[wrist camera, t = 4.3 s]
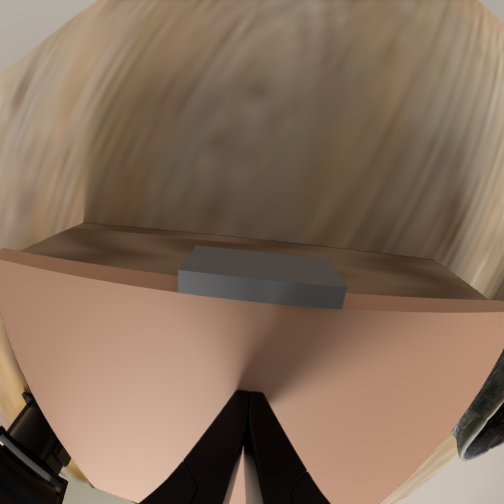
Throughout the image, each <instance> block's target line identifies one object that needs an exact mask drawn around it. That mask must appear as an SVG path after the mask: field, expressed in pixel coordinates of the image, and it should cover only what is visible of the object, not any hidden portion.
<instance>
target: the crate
mask: <svg viewBox="0 0 504 504" xmlns="http://www.w3.org/2000/svg"><path fill="white" fill-rule="evenodd" d="M196 245H199V246H209V247H218V248H228V249H237V250H247V251H256V252H266V253H275V254H285V255H295V256H304V257H313V258H323V259H330V260H331V262H332V264H333V265H334V267H335V268H336V270H337V271H338V273H339V275H340V276H341V278H342V279H343V281H344V283H345V284H346V286H347V291H346V293H353V294H367V295H383V296H399V297H417V298H438V299H464V300H489V299H487V298H486V297H485V296H483V295H482V294H481V293H479V292H478V291H477V290H475V289H474V288H473V287H471V286H470V285H469V284H467V283H466V282H465V281H463V280H462V279H461V278H459V277H458V276H456V275H455V274H454V273H452V272H451V271H449V270H448V269H447V268H445V267H444V266H442V265H441V264H439V263H438V262H436V261H435V260H429V259H421V258H414V257H405V256H397V255H389V254H381V253H373V252H364V251H356V250H347V249H339V248H330V247H321V246H312V245H303V244H294V243H285V242H276V241H266V240H257V239H247V238H237V237H228V236H218V235H208V234H198V233H187V232H177V231H166V230H156V229H145V228H134V227H122V226H111V225H99V224H87V223H82V224H79V225H77V226H75V227H72V228H70V229H68V230H65V231H63V232H61V233H59V234H56V235H54V236H52V237H50V238H48V239H45V240H43V241H41V242H39V243H37V244H35V245H33V246H31V247H29V248H26V249H24V250H22V251H20V252H25V253H31V254H36V255H42V256H48V257H54V258H60V259H66V260H72V261H78V262H84V263H90V264H97V265H103V266H110V267H117V268H124V269H131V270H138V271H145V272H152V273H160V274H167V275H175V276H178V269H179V268H180V266H181V265H182V264H183V262H184V261H185V260H186V258H187V257H188V256H189V254H190V253H191V252H192V250H193V249H194V248H195V246H196Z"/></svg>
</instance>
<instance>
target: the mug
mask: <svg viewBox="0 0 504 504" xmlns="http://www.w3.org/2000/svg"><path fill="white" fill-rule="evenodd" d="M450 433H452V435H454V436H455V438H456V440H457V449H458V453H459V458H460V459H461V460H463V461H468V460H472V459H475V458H477V457H479V456H481V455H483V454H484V453H486V452H487V451H488V450H489V449H493V448H495V447H498V446H500V445H502V444H504V349H503V351H502V353H501V355H500V357H499V358H498V360H497V362H496V364H495V366H494V368H493V369H492V371H491V373H490V375H489V376H488V378H487V380H486V381H485V383H484V385H483V386H482V388H481V389H480V391H479V392H478V394H477V396H476V397H475V399H474V400H473V402H472V403H471V404H470V406H469V407H468V409H467V410H466V412H465V413H464V414H463V416H462V417H461V419H460V420H459V421H458V423H457V424H456V425H455V426H454V428H453V429H452V430H451V432H450Z"/></svg>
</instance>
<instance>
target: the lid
mask: <svg viewBox="0 0 504 504" xmlns="http://www.w3.org/2000/svg"><path fill="white" fill-rule="evenodd" d="M346 291H347V286H346V284H345V283H344V281H343V279H342V278H341V276H340V275H339V273H338V271H337V270H336V268H335V267H334V265H333V264H332V262H331V260H330V259H323V258H313V257H304V256H295V255H285V254H275V253H266V252H256V251H247V250H237V249H228V248H218V247H209V246H199V245H196V246H195V248H194V249H193V250H192V252H191V253H190V254H189V256H188V257H187V258H186V260H185V261H184V262H183V264H182V265H181V266H180V268H179V269H178V276H175V275H167V274H160V273H152V272H145V271H138V270H131V269H124V268H117V267H110V266H103V265H97V264H90V263H84V262H78V261H72V260H66V259H60V258H54V257H48V256H42V255H36V254H31V253H25V252H20V251H15V250H9V249H4V248H2V249H0V314H1V317H2V321H3V324H4V327H5V330H6V333H7V335H8V338H9V341H10V344H11V346H12V349H13V351H14V354H15V356H16V359H17V361H18V364H19V366H20V368H21V371H22V373H23V375H24V377H25V379H26V381H27V384H28V386H29V388H30V390H31V392H32V394H33V396H34V398H35V400H36V401H37V403H38V405H39V407H40V409H41V411H42V412H43V414H44V416H45V418H46V419H47V421H48V423H49V424H50V426H51V428H52V429H53V431H54V433H55V434H56V436H57V437H58V439H59V440H60V442H61V443H62V445H63V446H64V448H65V449H66V451H67V452H68V454H69V455H70V456H71V458H72V459H73V460H74V462H75V463H76V465H77V466H78V467H79V468H80V470H81V471H82V472H83V474H84V475H85V476H86V477H87V479H88V480H89V481H90V482H91V483H92V485H93V486H94V487H95V488H98V489H100V490H103V491H105V492H108V493H111V494H113V495H116V496H119V497H122V498H125V499H128V500H131V501H134V502H137V503H140V502H141V501H142V500H143V499H144V498H146V497H147V496H148V495H149V494H151V493H152V492H153V491H154V490H155V489H156V488H157V487H158V486H160V485H161V484H162V483H163V482H164V481H165V480H166V479H167V478H168V477H169V476H170V474H171V473H172V472H173V471H174V470H175V469H176V468H177V466H178V465H179V464H180V463H181V462H182V461H183V459H184V458H185V457H186V455H187V454H188V453H189V452H190V450H191V449H192V448H193V447H194V445H195V444H196V443H197V442H198V440H199V439H200V438H201V436H202V435H203V434H204V432H205V431H206V430H207V428H208V427H209V426H210V425H211V423H212V422H213V421H214V419H215V418H216V416H217V415H218V414H219V412H220V411H221V410H222V408H223V407H224V406H225V404H226V403H227V401H228V400H229V399H230V397H231V396H232V395H233V393H234V392H235V391H236V390H247V391H249V393H250V391H258V392H263V393H264V395H265V397H266V399H267V400H268V402H269V404H270V406H271V408H272V410H273V411H274V413H275V415H276V417H277V419H278V421H279V422H280V424H281V426H282V428H283V429H284V431H285V433H286V435H287V436H288V438H289V440H290V442H291V443H292V445H293V447H294V449H295V450H296V452H297V454H298V455H299V457H300V459H301V460H302V462H303V464H304V465H305V467H306V469H307V471H308V472H309V473H310V475H311V477H312V478H313V480H314V482H315V483H316V484H317V486H318V487H319V489H320V490H321V492H322V493H323V494H324V496H325V497H326V498H327V499H328V501H329V502H330V503H331V504H380V503H381V502H382V501H383V500H384V499H386V498H387V497H388V496H389V495H390V494H391V493H393V492H394V491H395V490H396V489H397V488H398V487H399V486H400V485H401V484H402V483H404V482H405V481H406V480H407V479H408V478H409V477H410V476H411V475H412V474H413V473H414V472H415V471H416V470H417V469H418V468H419V467H420V466H421V465H422V464H423V463H424V462H425V461H426V459H427V458H428V457H429V456H430V455H431V454H432V453H433V452H434V451H435V449H436V448H437V447H438V446H439V445H440V444H441V443H442V441H443V440H444V439H445V438H446V436H447V435H448V434H449V433H450V432H451V430H452V429H453V428H454V426H455V425H456V424H457V423H458V421H459V420H460V419H461V417H462V416H463V414H464V413H465V412H466V410H467V409H468V407H469V406H470V404H471V403H472V402H473V400H474V399H475V397H476V396H477V394H478V392H479V391H480V389H481V388H482V386H483V385H484V383H485V381H486V380H487V378H488V376H489V375H490V373H491V371H492V369H493V368H494V366H495V364H496V362H497V360H498V358H499V357H500V355H501V353H502V351H503V349H504V300H464V299H438V298H417V297H399V296H383V295H367V294H353V293H346ZM307 471H306V472H307ZM229 504H246V496H245V480H244V462H243V452H242V457H241V461H240V465H239V469H238V473H237V477H236V480H235V484H234V488H233V492H232V495H231V499H230V503H229Z"/></svg>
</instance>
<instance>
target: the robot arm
mask: <svg viewBox="0 0 504 504" xmlns="http://www.w3.org/2000/svg"><path fill="white" fill-rule="evenodd" d="M22 396H23V398H24V400H25V402H26V404H27V405H26V406H25V407H24V408H23V410H22V411H21V412H20V414H19V415H18V416H17V418H16V419H15V420H14V422H13V423H12V424H11V426H10V427H9V429H8V430H7V431H6V430H5V428H4V427H3V426H2V425H1V426H0V441H1V442H2V443H3V444H4V445H1V444H0V504H62V502H63V499H64V495H65V492H66V488H67V485H68V481H67V480H65V479H64V478H61V477H60V476H59V473H60V471H61V469H62V467H63V466H64V467H66V466H68V464H69V462H70V460H71V456H70V455H69V454H68V452H67V451H66V449H65V448H64V446H63V445H62V443H61V442H60V440H59V439H58V437H57V436H56V434H55V433H54V431H53V429H52V428H51V426H50V424H49V423H48V421H47V419H46V418H45V416H44V414H43V412H42V411H41V409H40V407H39V405H38V403H37V401H36V400H35V398H34V397H33V396H31V395H29V394H28V393H26V392H23V393H22ZM242 452H243V462H244V480H245V496H246V504H331V503H330V502H329V501H328V499H327V498H326V497H325V496H324V494H323V493H322V492H321V490H320V489H319V487H318V486H317V484H316V483H315V482H314V480H313V478H312V477H311V475H310V473H309V472H308V471H307V469H306V467H305V465H304V464H303V462H302V460H301V459H300V457H299V455H298V454H297V452H296V450H295V449H294V447H293V445H292V443H291V442H290V440H289V438H288V436H287V435H286V433H285V431H284V429H283V428H282V426H281V424H280V422H279V421H278V419H277V417H276V415H275V413H274V411H273V410H272V408H271V406H270V404H269V402H268V400H267V399H266V397H265V395H264V393H263V392H258V391H250V393H249V391H247V390H236V391H235V392H234V393H233V395H232V396H231V397H230V399H229V400H228V401H227V403H226V404H225V406H224V407H223V408H222V410H221V411H220V412H219V414H218V415H217V416H216V418H215V419H214V421H213V422H212V423H211V425H210V426H209V427H208V428H207V430H206V431H205V432H204V434H203V435H202V436H201V438H200V439H199V440H198V442H197V443H196V444H195V445H194V447H193V448H192V449H191V450H190V452H189V453H188V454H187V455H186V457H185V458H184V459H183V461H182V462H181V463H180V464H179V465H178V466H177V468H176V469H175V470H174V471H173V472H172V473H171V474H170V476H169V477H168V478H167V479H166V480H165V481H164V482H163V483H162V484H161V485H160V486H158V487H157V488H156V489H155V490H154V491H153V492H152V493H151V494H149V495H148V496H147V497H146V498H144V499H143V500H142V501H141V502H140V503H138V504H229V503H230V499H231V495H232V492H233V488H234V484H235V480H236V477H237V473H238V469H239V465H240V461H241V457H242ZM306 471H307V472H306Z"/></svg>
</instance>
